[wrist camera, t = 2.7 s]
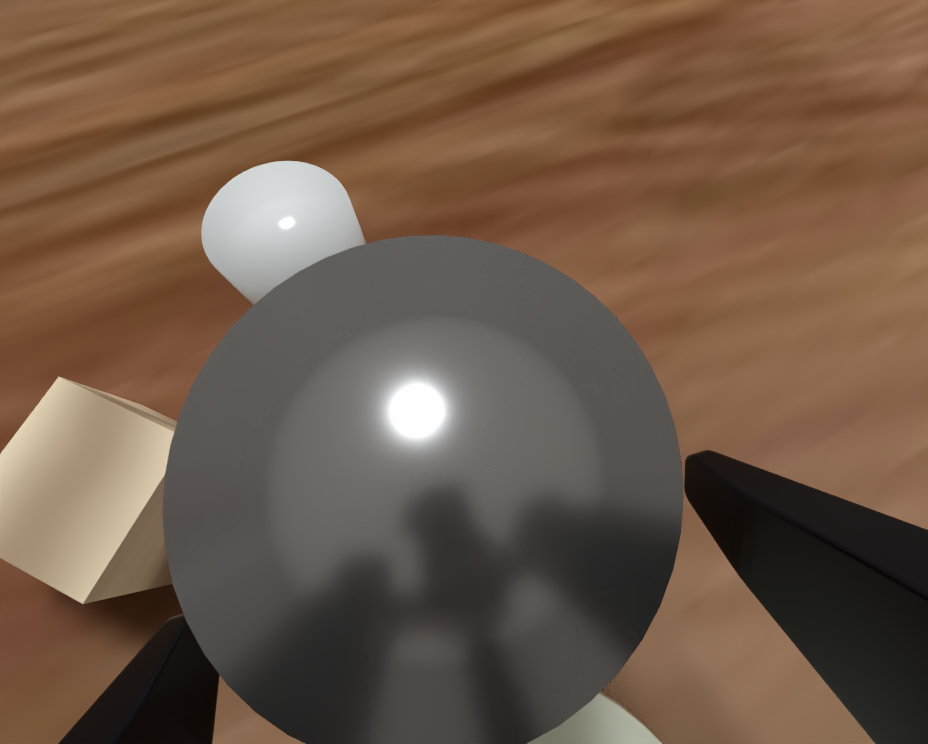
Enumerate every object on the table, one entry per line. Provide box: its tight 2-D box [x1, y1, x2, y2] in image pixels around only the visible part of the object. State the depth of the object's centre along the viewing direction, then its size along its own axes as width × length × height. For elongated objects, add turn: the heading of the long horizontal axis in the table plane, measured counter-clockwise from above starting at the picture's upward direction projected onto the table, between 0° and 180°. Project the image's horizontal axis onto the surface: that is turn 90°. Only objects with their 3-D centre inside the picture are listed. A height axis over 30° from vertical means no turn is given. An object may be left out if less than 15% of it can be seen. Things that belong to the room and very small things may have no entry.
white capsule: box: [202, 161, 366, 305], centre depth 17 cm, size 5×5×5 cm
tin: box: [162, 235, 684, 744], centre depth 11 cm, size 6×6×12 cm
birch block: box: [0, 377, 177, 604], centre depth 15 cm, size 5×5×4 cm
